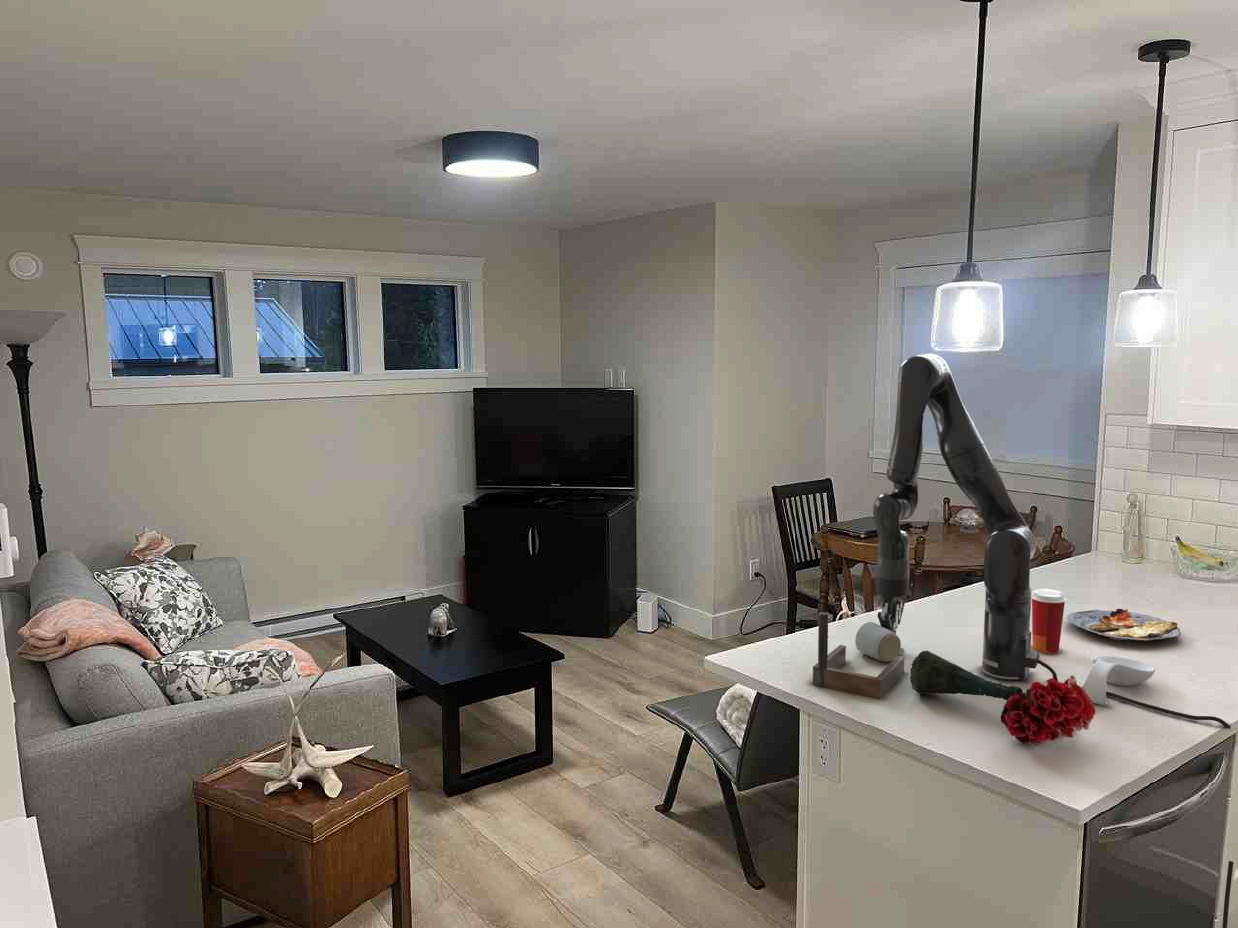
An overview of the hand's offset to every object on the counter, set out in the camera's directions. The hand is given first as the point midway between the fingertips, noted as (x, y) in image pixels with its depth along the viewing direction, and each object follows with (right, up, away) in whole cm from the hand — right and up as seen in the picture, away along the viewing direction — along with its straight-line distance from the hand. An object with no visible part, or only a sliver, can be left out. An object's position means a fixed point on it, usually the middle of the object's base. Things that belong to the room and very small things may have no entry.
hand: (890, 644), depth 216 cm
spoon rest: (+40, -4, -26) cm, 47 cm away
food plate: (+61, +1, +10) cm, 62 cm away
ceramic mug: (-3, -2, -5) cm, 6 cm away
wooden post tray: (-12, -4, -19) cm, 23 cm away
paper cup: (+36, -1, -2) cm, 36 cm away
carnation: (+8, -7, -41) cm, 42 cm away
